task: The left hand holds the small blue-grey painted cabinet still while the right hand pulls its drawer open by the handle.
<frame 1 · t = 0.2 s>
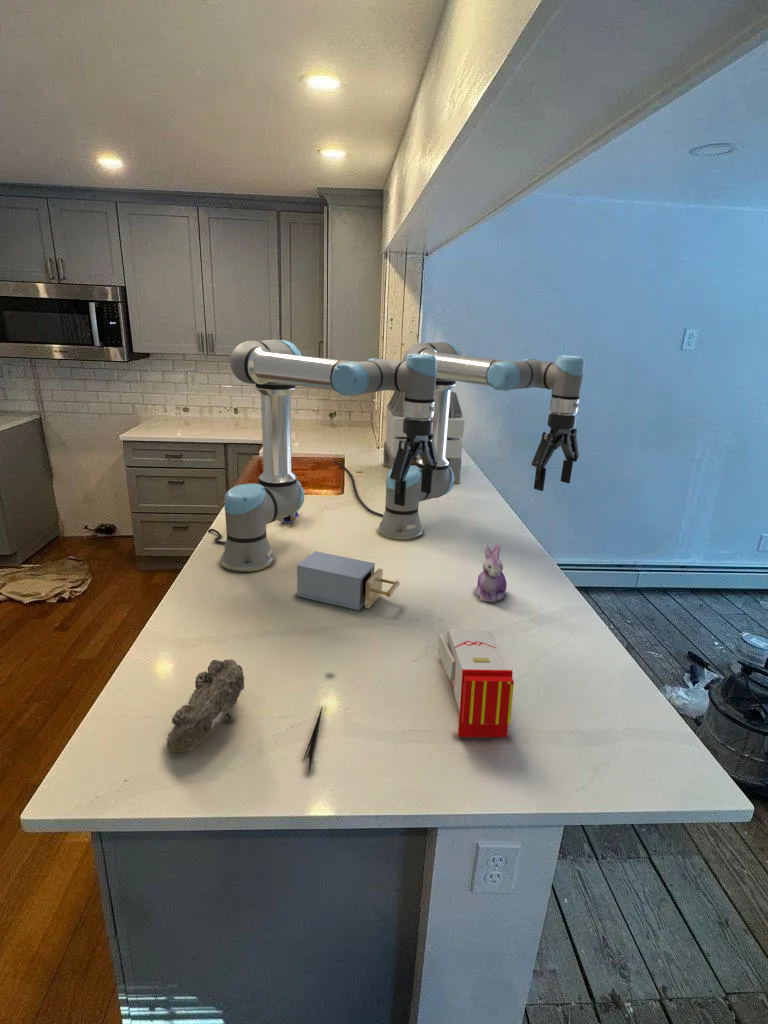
left hand: (413, 498, 149), 28 cm above the counter, tool pointing down, fingers open, 13 cm apart
right hand: (552, 485, 166), 28 cm above the counter, tool pointing down, fingers open, 13 cm apart
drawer: (355, 583, 152), point 5 cm above the counter, slide at 1.4 cm
fossil: (212, 717, 108), on the counter
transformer: (419, 473, 275), on the counter
figurine: (490, 595, 159), on the counter
feather: (319, 719, 109), on the counter
cabinet: (335, 594, 156), on the counter
figurine character: (289, 520, 208), on the counter
toy: (469, 691, 119), on the counter
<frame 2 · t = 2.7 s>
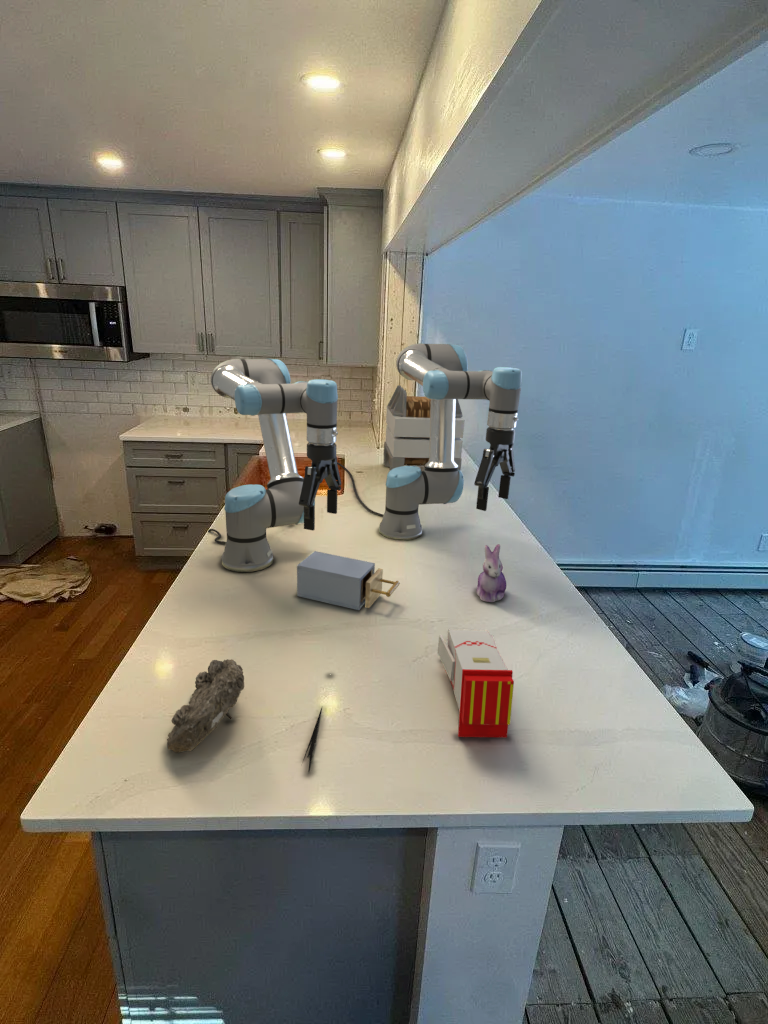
left hand: (321, 520, 151), 21 cm above the counter, tool pointing down, fingers open, 13 cm apart
right hand: (492, 503, 157), 25 cm above the counter, tool pointing down, fingers open, 13 cm apart
nothing on the counter moved.
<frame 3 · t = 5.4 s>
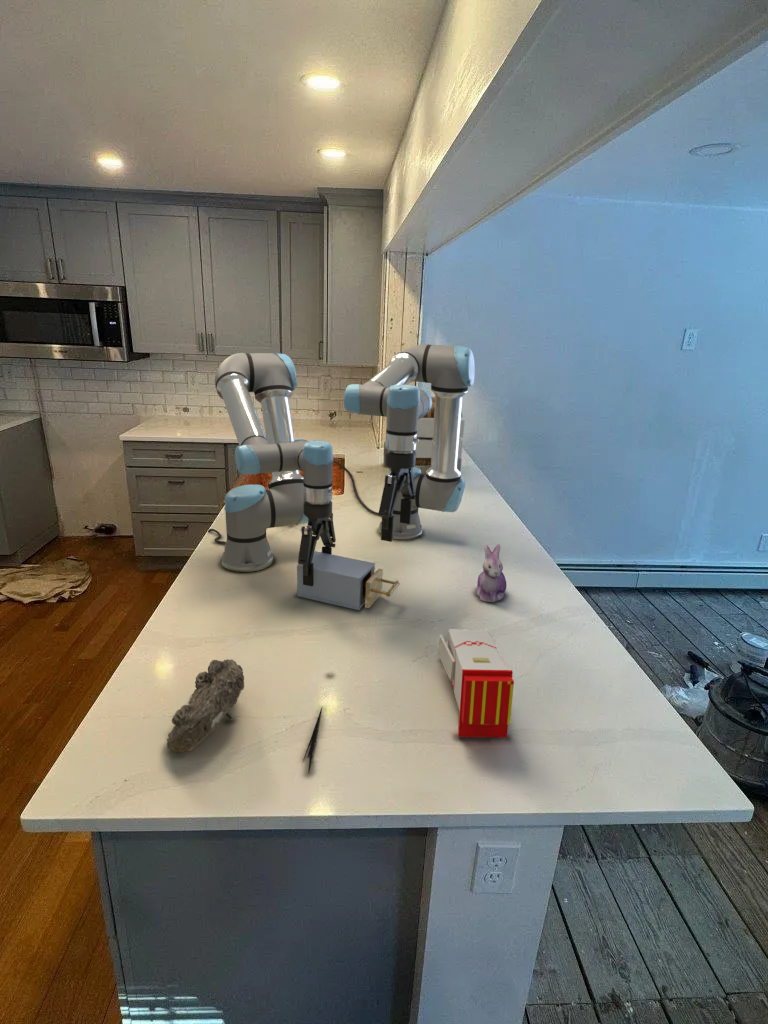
left hand: (317, 576, 156), 4 cm above the counter, tool pointing down, fingers closed on cabinet, 10 cm apart
right hand: (396, 531, 145), 21 cm above the counter, tool pointing down, fingers open, 13 cm apart
cabinet: (335, 594, 156), on the counter, touching left hand
everything else where it was.
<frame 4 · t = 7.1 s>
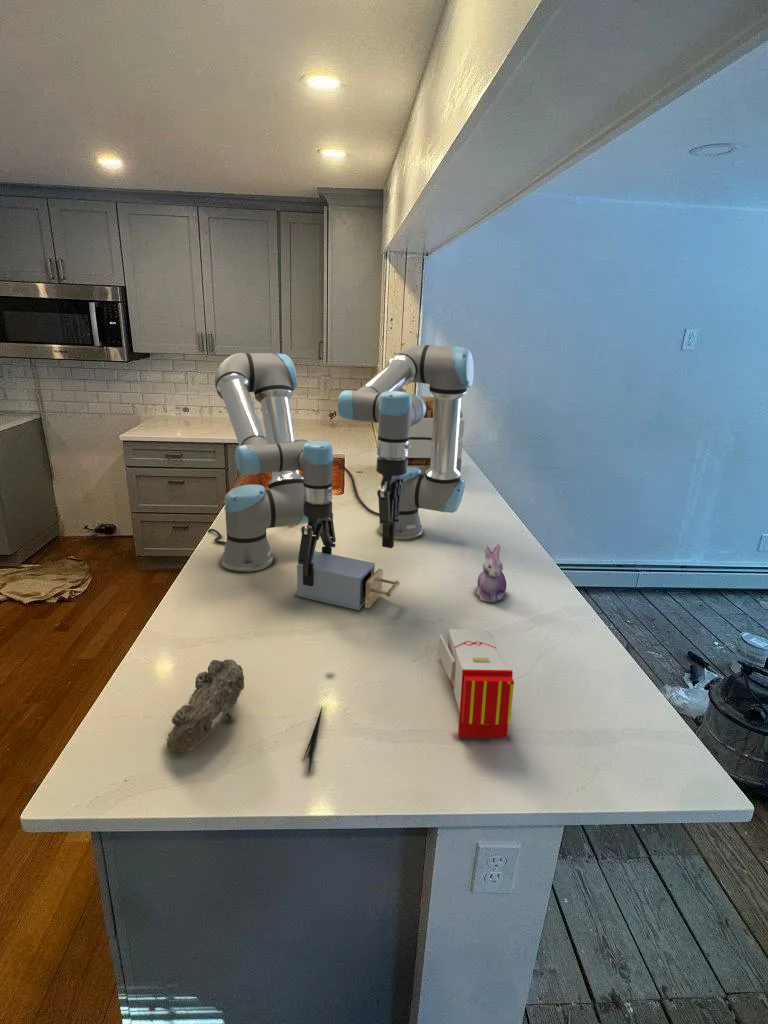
left hand: (317, 576, 156), 4 cm above the counter, tool pointing down, fingers closed on cabinet, 10 cm apart
right hand: (387, 546, 145), 17 cm above the counter, tool pointing down, fingers closed
cabinet: (335, 594, 156), on the counter, touching left hand
everything else where it was.
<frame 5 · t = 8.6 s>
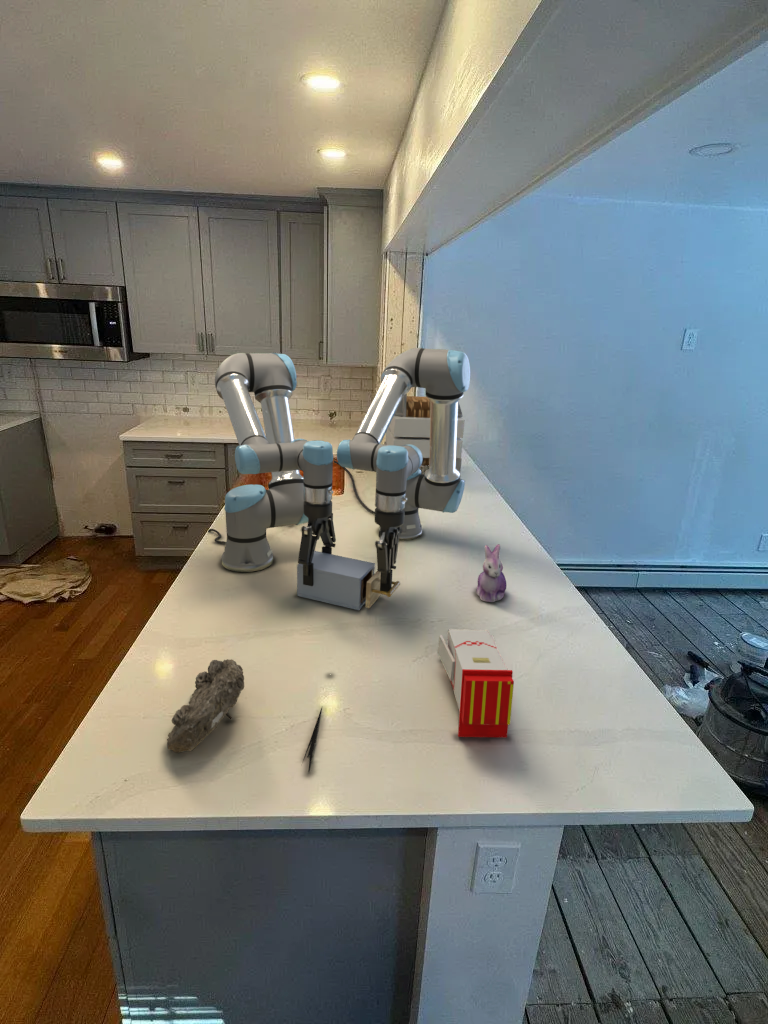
left hand: (317, 576, 156), 4 cm above the counter, tool pointing down, fingers closed on cabinet, 10 cm apart
right hand: (385, 592, 150), 4 cm above the counter, tool pointing down, fingers closed
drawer: (356, 583, 152), point 5 cm above the counter, slide at 1.5 cm, touching right hand
cabinet: (335, 594, 156), on the counter, touching left hand
everything else where it was.
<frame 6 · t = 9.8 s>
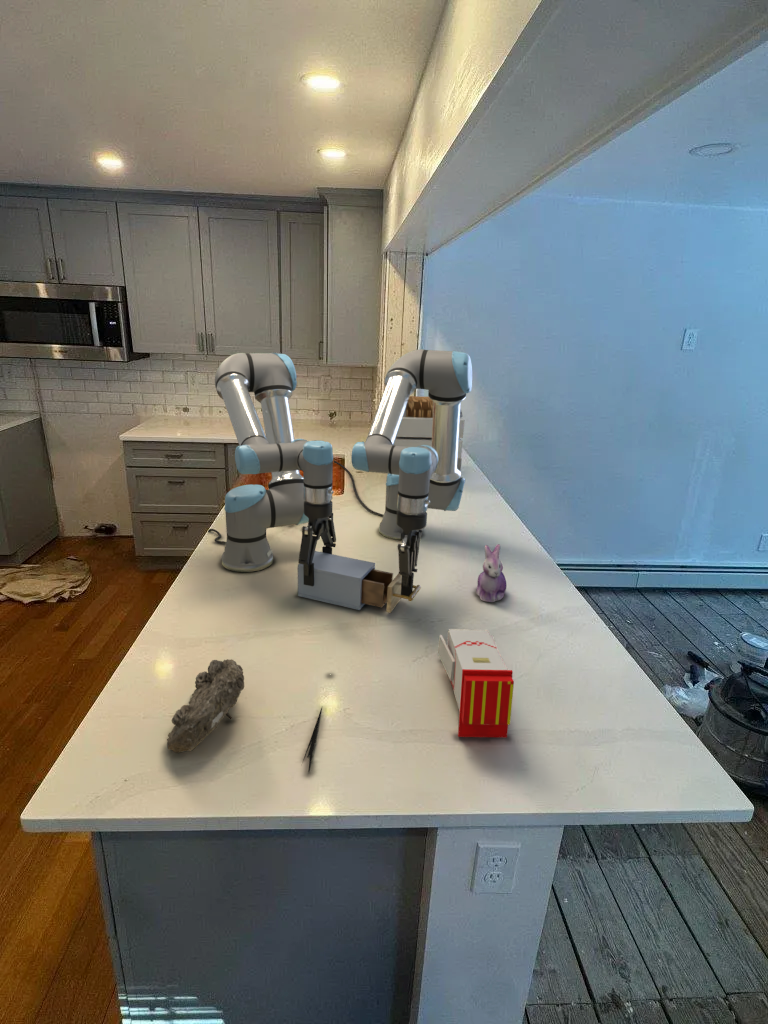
left hand: (318, 576, 156), 4 cm above the counter, tool pointing down, fingers closed on cabinet, 10 cm apart
right hand: (406, 595, 148), 4 cm above the counter, tool pointing down, fingers closed
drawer: (376, 587, 151), point 5 cm above the counter, slide at 7.2 cm
cabinet: (336, 594, 156), on the counter, touching left hand
everything else where it was.
when the left hand's fingers open (4 cm above the counter, at t = 11.3 s): cabinet stays where it is, on the counter.
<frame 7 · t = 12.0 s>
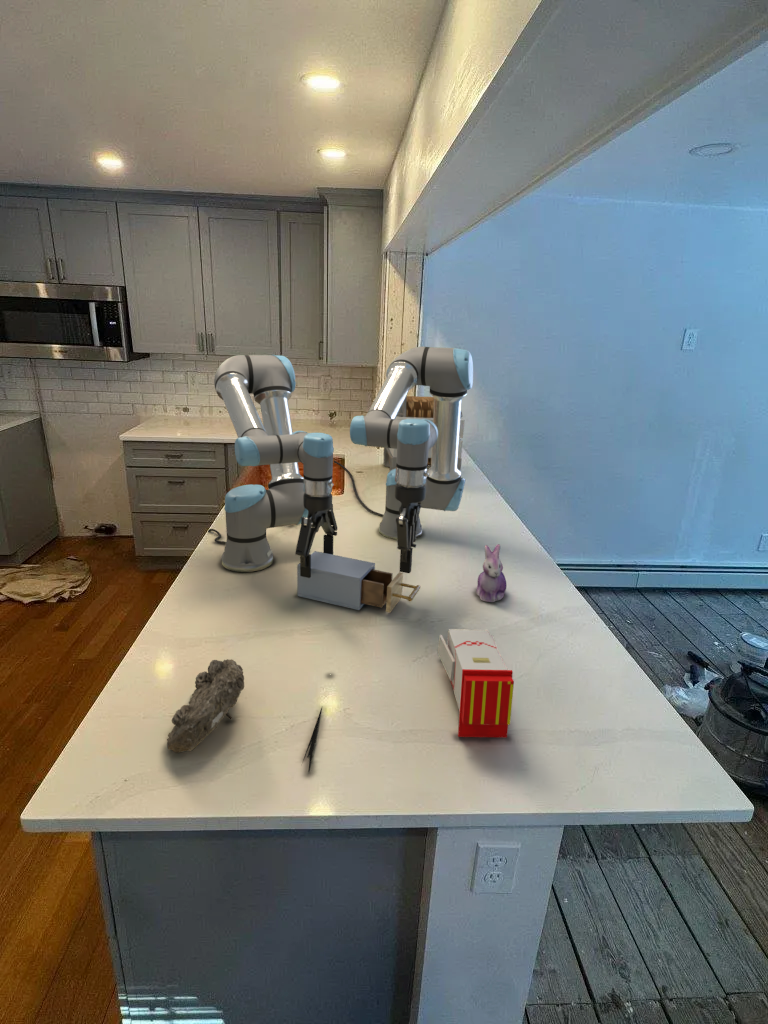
left hand: (317, 566, 155), 7 cm above the counter, tool pointing down, fingers open, 13 cm apart
right hand: (405, 571, 146), 11 cm above the counter, tool pointing down, fingers closed
cabinet: (336, 594, 156), on the counter
everything else where it was.
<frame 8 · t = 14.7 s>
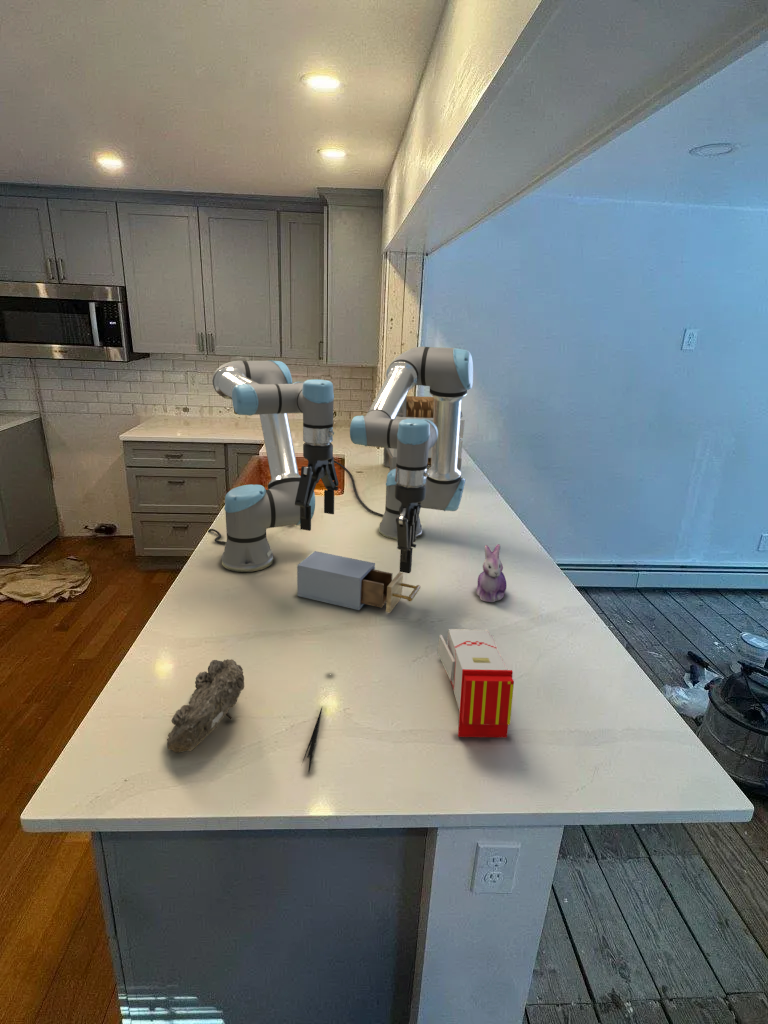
left hand: (317, 521, 151), 21 cm above the counter, tool pointing down, fingers open, 13 cm apart
right hand: (405, 571, 146), 11 cm above the counter, tool pointing down, fingers closed
nothing on the counter moved.
at the end: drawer slide at 7.2 cm; cabinet tilted 0°; cabinet never tilted more than 1° during the clip; cabinet moved 0.1 cm from its start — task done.
